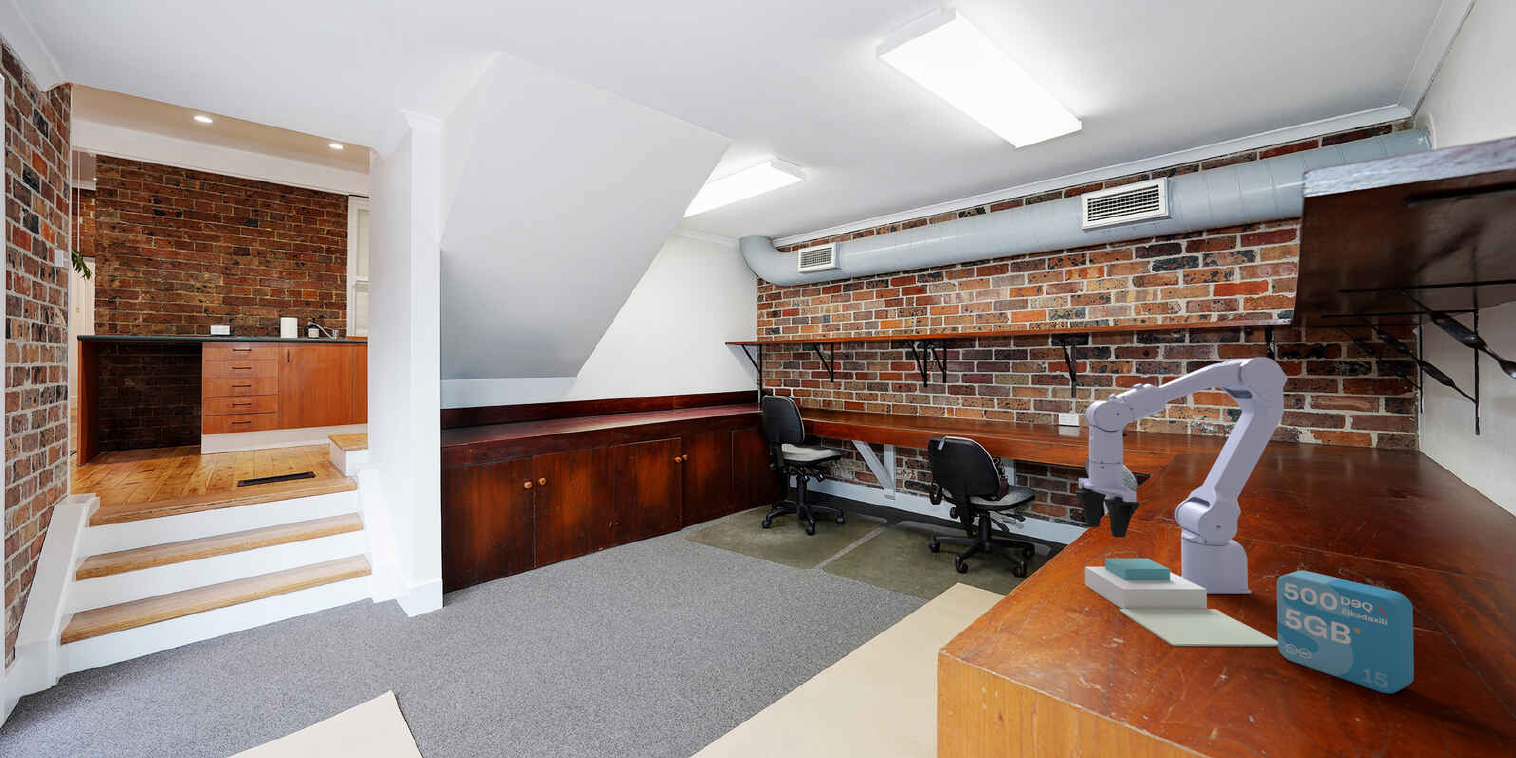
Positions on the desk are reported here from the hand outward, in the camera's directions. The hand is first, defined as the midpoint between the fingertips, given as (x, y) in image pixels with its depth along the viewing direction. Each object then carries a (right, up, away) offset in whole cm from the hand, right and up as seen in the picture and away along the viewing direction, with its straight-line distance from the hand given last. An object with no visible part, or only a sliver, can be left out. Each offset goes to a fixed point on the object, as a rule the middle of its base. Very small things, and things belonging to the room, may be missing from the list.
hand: (1105, 531), depth 112 cm
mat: (+1, -10, -21) cm, 24 cm away
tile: (+1, -6, -7) cm, 9 cm away
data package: (+10, -10, -36) cm, 38 cm away
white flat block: (+1, -10, -8) cm, 13 cm away
